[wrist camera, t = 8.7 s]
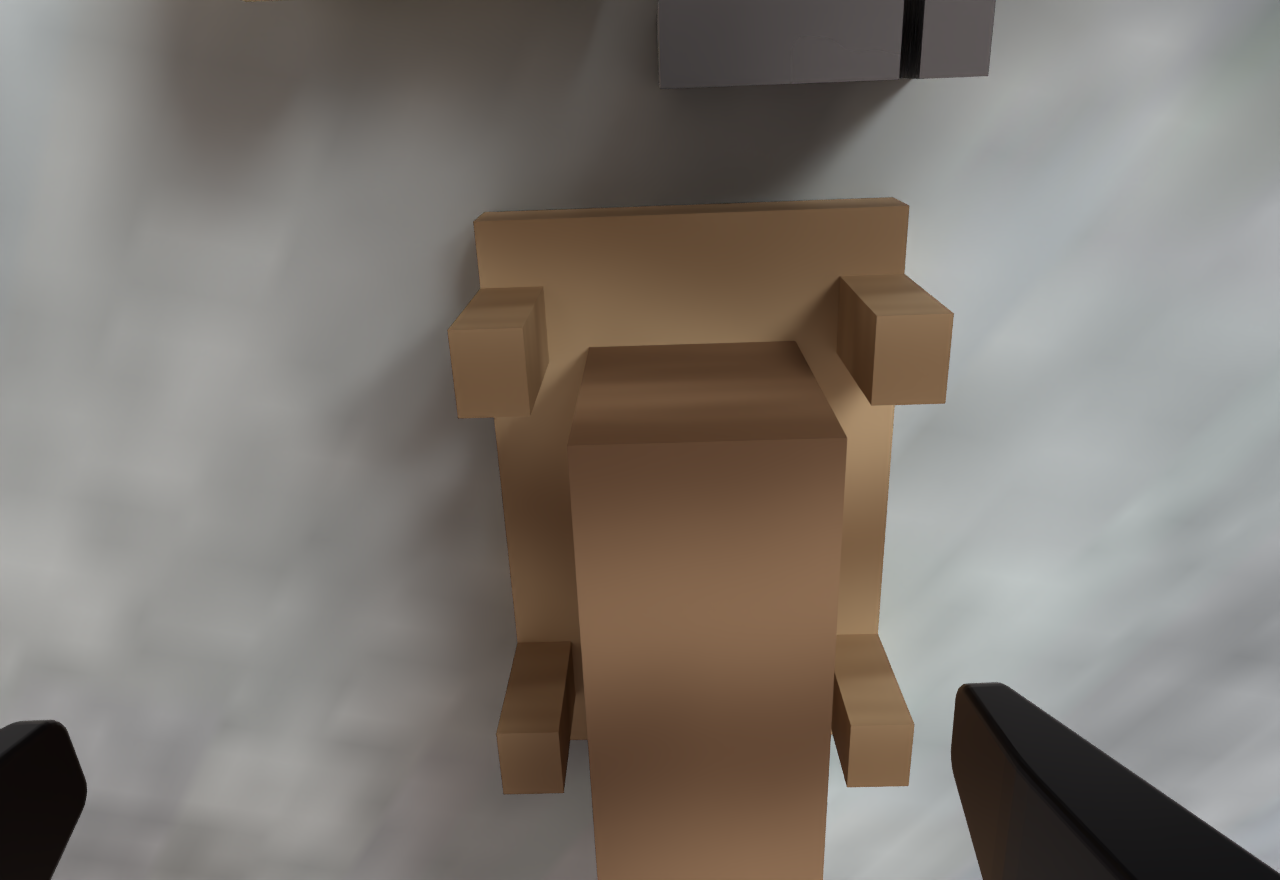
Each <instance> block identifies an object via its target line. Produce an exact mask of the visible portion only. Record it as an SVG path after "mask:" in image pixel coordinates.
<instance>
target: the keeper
mask: <svg viewBox="0 0 1280 880" xmlns="http://www.w3.org/2000/svg"><path fill="white" fill-rule="evenodd" d="M995 2H996V0H658V8H657V38H658V75H659V87H660V88H661V89H672V88H697V87H722V86H747V85H773V84H798V83H823V82H848V81H873V80H899V78H913V79H924V78H949V77H974V76H988V72H989V62H990V52H991V42H992V32H993V22H994V12H995Z"/></svg>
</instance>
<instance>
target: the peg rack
mask: <svg viewBox="0 0 1280 880" xmlns="http://www.w3.org/2000/svg"><path fill="white" fill-rule="evenodd" d="M908 216H909V205H907V204H905V203H903V202H901V201H899V200H897V199H895V198H893V197H888V198H861V199H833V200H806V201H778V202H751V203H723V204H696V205H669V206H641V207H614V208H586V209H559V210H531V211H504V212H484V213H483V214H482V215H481V216H479V217H478V218H477V219H476V220H475V221H473V223H474V232H475V242H476V251H477V261H478V271H479V280H480V290H479V291H478V292H477V293H476V295H475V296H474V297H473V299H472V300H471V301H470V302H469V304H468V305H467V306H466V307H465V309H464V310H463V311H462V312H461V314H460V315H459V316H458V318H457V319H456V320H455V321H454V323H453V324H452V325H451V326H450V328H449V329H448V330H447V331H448V340H449V348H450V356H451V364H452V373H453V381H454V389H455V397H456V406H457V414H458V418H489V417H494V423H495V432H496V442H497V451H498V461H499V470H500V480H501V490H502V499H503V509H504V518H505V528H506V537H507V547H508V556H509V566H510V575H511V585H512V594H513V604H514V613H515V623H516V632H517V642H518V643H517V647H516V651H515V656H514V660H513V664H512V668H511V673H510V677H509V681H508V686H507V690H506V694H505V698H504V703H503V707H502V711H501V716H500V720H499V724H498V728H497V733H496V736H497V744H498V752H499V761H500V769H501V777H502V785H503V794H542V793H564V787H565V778H566V770H567V762H568V754H569V745H570V740H588V736H587V722H586V708H585V694H584V680H583V666H582V652H581V638H580V624H579V610H578V595H577V581H576V567H575V553H574V539H573V525H572V511H571V497H570V483H569V469H568V455H567V443H568V439H569V434H570V430H571V425H572V421H573V416H574V412H575V407H576V403H577V399H578V394H579V390H580V385H581V381H582V376H583V372H584V367H585V363H586V359H587V354H588V350H589V347H609V346H642V345H674V344H707V343H740V342H772V341H796V343H797V345H798V347H799V348H800V350H801V352H802V354H803V356H804V358H805V360H806V361H807V363H808V365H809V367H810V369H811V371H812V373H813V375H814V376H815V378H816V380H817V382H818V384H819V386H820V388H821V389H822V391H823V393H824V395H825V397H826V399H827V401H828V403H829V404H830V406H831V408H832V410H833V412H834V414H835V416H836V418H837V419H838V421H839V423H840V425H841V427H842V429H843V431H844V432H845V434H846V436H847V454H846V472H845V490H844V508H843V526H842V544H841V562H840V580H839V598H838V616H837V634H836V651H835V669H834V687H833V705H832V723H831V734H833V737H834V741H835V745H836V748H837V752H838V756H839V759H840V763H841V767H842V770H843V774H844V778H845V781H846V785H847V787H883V786H908V785H909V775H910V764H911V754H912V744H913V733H914V722H913V720H912V717H911V715H910V712H909V710H908V708H907V705H906V703H905V700H904V698H903V695H902V693H901V690H900V688H899V685H898V683H897V680H896V678H895V675H894V673H893V670H892V668H891V665H890V663H889V660H888V658H887V655H886V653H885V650H884V648H883V645H882V643H881V641H880V638H879V636H878V623H879V610H880V596H881V583H882V569H883V556H884V542H885V528H886V515H887V501H888V488H889V474H890V461H891V447H892V433H893V420H894V406H895V405H911V404H943V403H945V400H946V390H947V379H948V369H949V359H950V348H951V338H952V327H953V317H954V313H952V312H951V311H950V310H949V309H947V308H946V307H945V306H944V305H942V304H941V303H940V302H939V301H937V300H936V299H935V298H934V297H932V296H931V295H930V294H929V293H927V292H926V291H925V290H924V289H922V288H921V287H920V286H919V285H917V284H916V283H915V282H914V281H912V280H911V279H910V278H909V277H907V276H906V275H905V274H904V270H905V257H906V243H907V230H908Z"/></svg>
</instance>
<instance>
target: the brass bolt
mask: <svg viewBox="0 0 1280 880" xmlns="http://www.w3.org/2000/svg"><path fill="white" fill-rule="evenodd" d="M242 1H245V2H258V1H282V0H242Z"/></svg>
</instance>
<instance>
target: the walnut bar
mask: <svg viewBox="0 0 1280 880" xmlns="http://www.w3.org/2000/svg"><path fill="white" fill-rule="evenodd" d="M846 454H847V436H846V434H845V432H844V431H843V429H842V427H841V425H840V423H839V421H838V419H837V418H836V416H835V414H834V412H833V410H832V408H831V406H830V404H829V403H828V401H827V399H826V397H825V395H824V393H823V391H822V389H821V388H820V386H819V384H818V382H817V380H816V378H815V376H814V375H813V373H812V371H811V369H810V367H809V365H808V363H807V361H806V360H805V358H804V356H803V354H802V352H801V350H800V348H799V347H798V345H797V343H796V341H772V342H740V343H707V344H674V345H642V346H609V347H589V350H588V354H587V359H586V363H585V367H584V372H583V376H582V381H581V385H580V390H579V394H578V399H577V403H576V407H575V412H574V416H573V421H572V425H571V430H570V434H569V439H568V443H567V455H568V469H569V483H570V497H571V511H572V525H573V539H574V553H575V567H576V581H577V595H578V610H579V624H580V638H581V652H582V666H583V680H584V694H585V708H586V722H587V736H588V750H589V765H590V779H591V793H592V807H593V821H594V835H595V849H596V863H597V877H598V880H823V866H824V848H825V831H826V813H827V795H828V777H829V759H830V741H831V723H832V705H833V687H834V669H835V651H836V634H837V616H838V598H839V580H840V562H841V544H842V526H843V508H844V490H845V472H846Z"/></svg>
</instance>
